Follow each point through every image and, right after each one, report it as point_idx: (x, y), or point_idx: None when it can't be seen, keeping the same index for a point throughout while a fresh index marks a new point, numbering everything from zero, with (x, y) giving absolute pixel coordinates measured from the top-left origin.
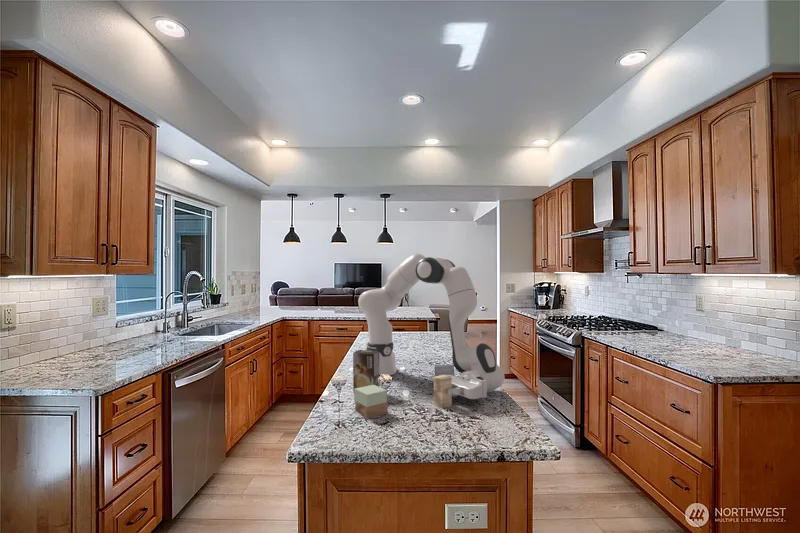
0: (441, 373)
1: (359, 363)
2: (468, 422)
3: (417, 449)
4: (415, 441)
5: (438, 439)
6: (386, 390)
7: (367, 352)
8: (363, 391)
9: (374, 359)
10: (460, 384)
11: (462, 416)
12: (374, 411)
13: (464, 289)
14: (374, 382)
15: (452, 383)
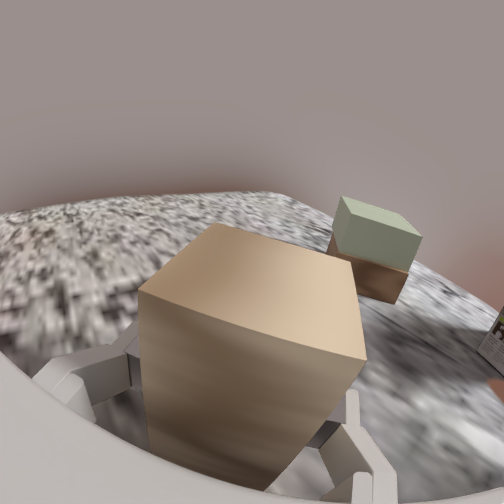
0: None
1: None
2: (26, 298)
3: (135, 200)
4: (150, 212)
5: (106, 220)
6: (350, 213)
7: None
8: (369, 205)
9: None
10: (28, 416)
11: (48, 341)
12: (329, 251)
13: None
14: (501, 311)
15: (171, 464)
